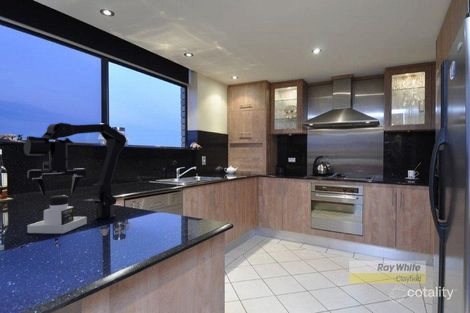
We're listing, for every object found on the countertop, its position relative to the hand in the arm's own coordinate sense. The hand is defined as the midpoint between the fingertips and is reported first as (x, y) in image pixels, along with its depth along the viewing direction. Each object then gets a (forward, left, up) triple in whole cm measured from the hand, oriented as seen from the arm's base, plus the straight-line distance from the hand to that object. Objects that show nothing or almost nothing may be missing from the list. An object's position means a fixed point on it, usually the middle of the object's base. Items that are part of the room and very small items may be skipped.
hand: (58, 195), depth 101 cm
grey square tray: (0, 0, -13) cm, 13 cm away
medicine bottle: (0, 0, -12) cm, 13 cm away
